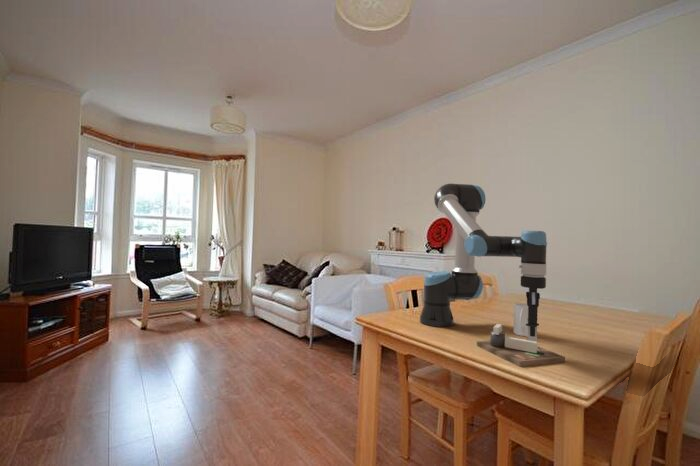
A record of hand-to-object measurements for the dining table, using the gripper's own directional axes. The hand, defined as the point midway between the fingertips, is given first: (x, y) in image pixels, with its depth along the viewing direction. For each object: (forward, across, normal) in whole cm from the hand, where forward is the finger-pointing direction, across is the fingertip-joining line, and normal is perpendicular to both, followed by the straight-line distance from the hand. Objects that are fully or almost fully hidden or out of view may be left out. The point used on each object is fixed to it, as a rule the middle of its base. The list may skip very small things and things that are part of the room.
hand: (532, 344), depth 110 cm
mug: (+3, -25, -2) cm, 26 cm away
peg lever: (+1, +3, -5) cm, 6 cm away
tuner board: (+3, +2, -4) cm, 5 cm away
